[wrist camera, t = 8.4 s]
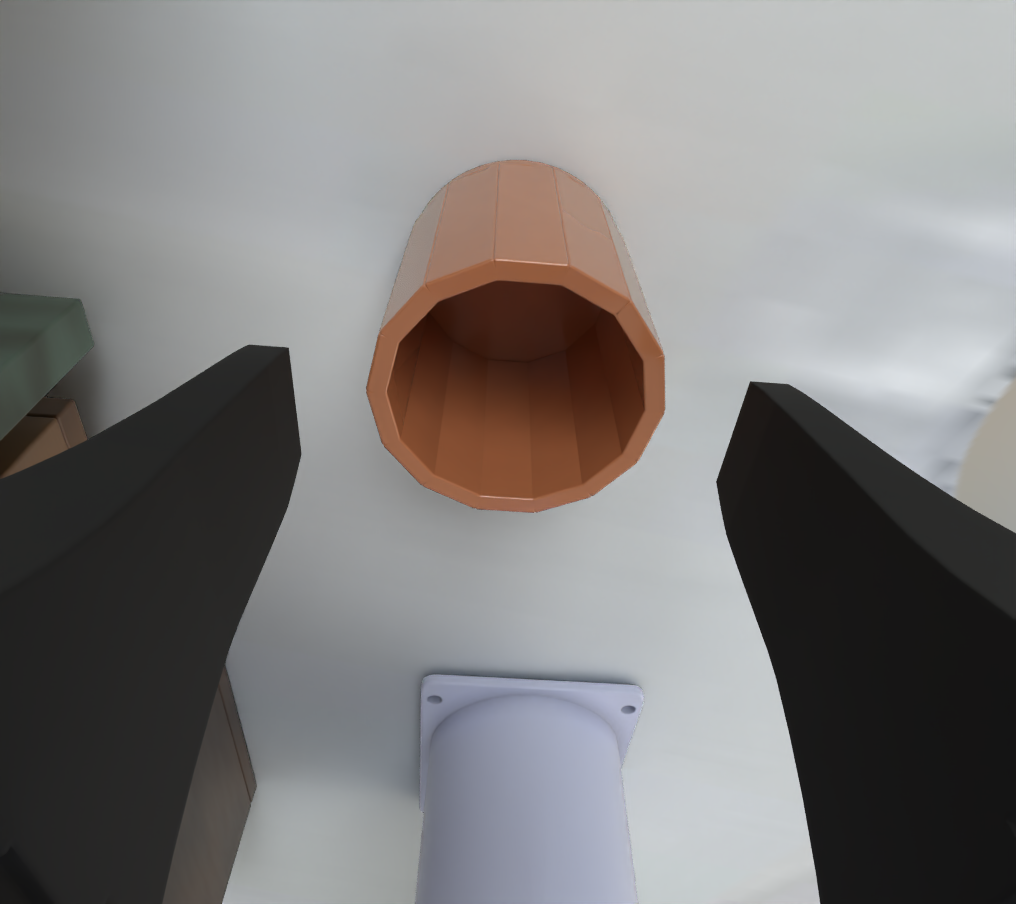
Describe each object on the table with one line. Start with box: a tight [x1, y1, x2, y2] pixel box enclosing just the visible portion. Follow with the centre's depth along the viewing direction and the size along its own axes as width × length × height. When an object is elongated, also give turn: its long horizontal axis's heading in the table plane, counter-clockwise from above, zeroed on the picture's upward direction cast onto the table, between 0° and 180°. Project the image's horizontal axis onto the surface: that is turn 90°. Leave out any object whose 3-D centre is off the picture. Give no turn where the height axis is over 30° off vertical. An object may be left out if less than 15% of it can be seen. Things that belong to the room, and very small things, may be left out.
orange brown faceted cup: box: [366, 160, 665, 513], centre depth 14 cm, size 5×5×6 cm
